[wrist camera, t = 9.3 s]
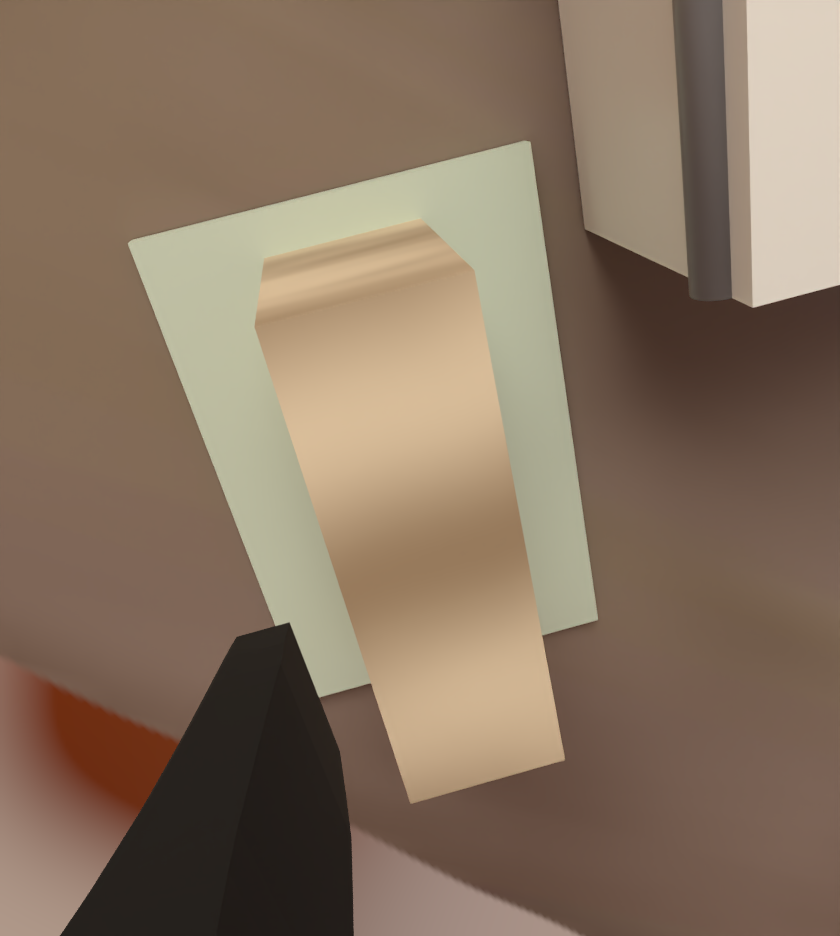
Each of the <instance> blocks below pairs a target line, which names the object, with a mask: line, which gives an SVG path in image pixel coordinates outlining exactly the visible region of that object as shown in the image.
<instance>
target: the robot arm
mask: <svg viewBox="0 0 840 936" xmlns="http://www.w3.org/2000/svg"><path fill="white" fill-rule="evenodd" d="M351 848H352V847H351V831H350V823H349V816H348V808H347V800H346V792H345V785H344V778H343V771H342V764H341V757H340V751H339V748H338V746H337V743H336V740H335V738H334V735H333V733H332V730H331V728H330V725H329V722H328V720H327V717H326V715H325V712H324V710H323V707H322V704H321V702H320V699H319V697H318V694H317V692H316V689H315V686H314V684H313V681H312V679H311V676H310V674H309V671H308V668H307V666H306V663H305V661H304V658H303V656H302V653H301V650H300V648H299V645H298V643H297V640H296V638H295V635H294V632H293V630H292V627H291V625H290V622H289V623H285V624H282V625H278V626H274V627H271V628H267V629H264V630H260V631H257V632H253V633H249V634H246V635H242V636H239V637H237V638H236V639H235V641H234V643H233V644H232V646H231V647H230V649H229V651H228V653H227V655H226V657H225V658H224V660H223V662H222V664H221V666H220V668H219V670H218V672H217V673H216V675H215V677H214V679H213V681H212V683H211V685H210V687H209V689H208V691H207V692H206V694H205V696H204V698H203V700H202V702H201V704H200V706H199V708H198V709H197V711H196V713H195V715H194V717H193V719H192V721H191V722H190V724H189V726H188V728H187V730H186V732H185V734H184V735H183V737H182V739H181V741H180V743H179V744H178V746H177V748H176V750H175V752H174V754H173V755H172V757H171V759H170V760H169V762H168V764H167V766H166V767H165V769H164V771H163V773H162V774H161V776H160V778H159V780H158V782H157V783H156V785H155V787H154V789H153V790H152V792H151V794H150V796H149V797H148V799H147V801H146V802H145V804H144V806H143V807H142V809H141V811H140V813H139V814H138V816H137V817H136V819H135V821H134V822H133V824H132V826H131V827H130V829H129V830H128V832H127V833H126V835H125V837H124V838H123V840H122V841H121V843H120V845H119V846H118V848H117V850H116V851H115V853H114V854H113V856H112V857H111V859H110V861H109V862H108V864H107V865H106V867H105V869H104V870H103V872H102V873H101V875H100V877H99V878H98V880H97V881H96V883H95V885H94V886H93V888H92V889H91V891H90V892H89V894H88V895H87V897H86V898H85V900H84V901H83V903H82V904H81V906H80V907H79V909H78V910H77V912H76V913H75V915H74V916H73V918H72V919H71V920H70V922H69V923H68V925H67V926H66V928H65V929H64V931H63V932H62V934H61V935H60V936H354V931H353V887H352V886H353V885H352V851H351V850H352V849H351Z"/></svg>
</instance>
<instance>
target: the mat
mask: <svg viewBox="0 0 840 936" xmlns="http://www.w3.org/2000/svg"><path fill="white" fill-rule="evenodd" d="M420 218H421V219H422V220H423V221H424V222H425V223H426V224H427V225H428V226H429V227H430V228H431V229H432V230H434V231H435V232H436V233H437V234H438V235H439V236H440V237H441V238H442V239H443V240H444V241H445V242H446V243H447V244H448V245H449V246H450V247H451V248H452V249H453V250H454V251H455V252H456V253H457V254H458V255H459V256H460V257H461V258H462V259H464V260H465V261H466V262H467V263H468V264H469V265H470V266H471V267H472V268H473V269H474V271H475V276H476V282H477V287H478V292H479V298H480V303H481V309H482V314H483V319H484V325H485V330H486V336H487V341H488V346H489V352H490V357H491V363H492V368H493V373H494V379H495V384H496V390H497V395H498V400H499V406H500V411H501V417H502V422H503V427H504V433H505V438H506V444H507V449H508V454H509V460H510V465H511V471H512V476H513V481H514V487H515V492H516V498H517V503H518V508H519V514H520V519H521V525H522V530H523V535H524V541H525V546H526V552H527V557H528V562H529V568H530V573H531V579H532V584H533V589H534V595H535V600H536V606H537V611H538V616H539V622H540V627H541V633H542V635H546V634H549V633H553V632H556V631H560V630H564V629H567V628H571V627H574V626H578V625H582V624H585V623H589V622H592V621H596V620H598V616H597V609H596V602H595V594H594V587H593V580H592V573H591V566H590V559H589V552H588V545H587V538H586V531H585V524H584V517H583V510H582V503H581V496H580V489H579V482H578V474H577V467H576V460H575V453H574V446H573V439H572V432H571V425H570V418H569V411H568V404H567V397H566V390H565V383H564V376H563V369H562V362H561V354H560V347H559V340H558V333H557V326H556V319H555V312H554V305H553V298H552V291H551V284H550V277H549V270H548V263H547V256H546V249H545V241H544V234H543V227H542V220H541V213H540V206H539V199H538V192H537V185H536V178H535V171H534V164H533V157H532V150H531V143H530V142H529V141H521V142H518V143H514V144H510V145H506V146H502V147H498V148H494V149H490V150H486V151H482V152H478V153H474V154H470V155H466V156H462V157H458V158H454V159H450V160H446V161H442V162H438V163H435V164H431V165H427V166H423V167H419V168H415V169H411V170H407V171H403V172H399V173H395V174H391V175H387V176H383V177H379V178H375V179H371V180H367V181H363V182H359V183H355V184H352V185H348V186H344V187H340V188H336V189H332V190H328V191H324V192H320V193H316V194H312V195H308V196H304V197H300V198H296V199H292V200H288V201H284V202H280V203H276V204H272V205H268V206H265V207H261V208H257V209H253V210H249V211H245V212H241V213H237V214H233V215H229V216H225V217H221V218H217V219H213V220H209V221H205V222H201V223H197V224H193V225H189V226H185V227H182V228H178V229H174V230H170V231H166V232H162V233H158V234H154V235H150V236H146V237H142V238H138V239H134V240H131V241H130V242H129V243H128V245H129V248H130V250H131V253H132V256H133V258H134V261H135V263H136V266H137V269H138V271H139V274H140V276H141V279H142V281H143V284H144V287H145V289H146V292H147V294H148V297H149V300H150V302H151V305H152V307H153V310H154V313H155V315H156V318H157V320H158V323H159V325H160V328H161V331H162V333H163V336H164V338H165V341H166V344H167V346H168V349H169V351H170V354H171V357H172V359H173V362H174V364H175V367H176V369H177V372H178V375H179V377H180V380H181V382H182V385H183V388H184V390H185V393H186V395H187V398H188V401H189V403H190V406H191V408H192V411H193V413H194V416H195V419H196V421H197V424H198V426H199V429H200V432H201V434H202V437H203V439H204V442H205V445H206V447H207V450H208V452H209V455H210V457H211V460H212V463H213V465H214V468H215V470H216V473H217V476H218V478H219V481H220V483H221V486H222V489H223V491H224V494H225V496H226V499H227V501H228V504H229V507H230V509H231V512H232V514H233V517H234V520H235V522H236V525H237V527H238V530H239V533H240V535H241V538H242V540H243V543H244V545H245V548H246V551H247V553H248V556H249V558H250V561H251V564H252V566H253V569H254V571H255V574H256V577H257V579H258V582H259V584H260V587H261V589H262V592H263V595H264V597H265V600H266V602H267V605H268V608H269V610H270V613H271V615H272V618H273V621H274V623H275V626H278V625H282V624H285V623H289V622H290V625H291V627H292V630H293V632H294V635H295V638H296V640H297V643H298V645H299V648H300V650H301V653H302V656H303V658H304V661H305V663H306V666H307V668H308V671H309V674H310V676H311V679H312V681H313V684H314V686H315V689H316V692H317V694H318V697H323V696H326V695H330V694H333V693H337V692H341V691H344V690H348V689H351V688H355V687H359V686H362V685H366V684H369V683H371V681H370V678H369V675H368V672H367V669H366V666H365V663H364V660H363V657H362V654H361V651H360V648H359V645H358V642H357V639H356V636H355V633H354V629H353V626H352V623H351V620H350V617H349V614H348V611H347V608H346V605H345V602H344V599H343V596H342V593H341V590H340V587H339V584H338V581H337V578H336V575H335V571H334V568H333V565H332V562H331V559H330V556H329V553H328V550H327V547H326V544H325V541H324V538H323V535H322V532H321V529H320V526H319V523H318V520H317V516H316V513H315V510H314V507H313V504H312V501H311V498H310V495H309V492H308V489H307V486H306V483H305V480H304V477H303V474H302V471H301V468H300V465H299V462H298V458H297V455H296V452H295V449H294V446H293V443H292V440H291V437H290V434H289V431H288V428H287V425H286V422H285V419H284V416H283V413H282V410H281V407H280V403H279V400H278V397H277V394H276V391H275V388H274V385H273V382H272V379H271V376H270V373H269V370H268V367H267V364H266V361H265V358H264V355H263V352H262V348H261V345H260V342H259V339H258V336H257V333H256V330H255V327H254V326H255V319H256V312H257V305H258V298H259V291H260V284H261V277H262V270H263V263H264V258H267V257H271V256H275V255H279V254H283V253H287V252H291V251H294V250H298V249H302V248H306V247H310V246H314V245H318V244H322V243H326V242H330V241H334V240H338V239H342V238H346V237H349V236H353V235H357V234H361V233H365V232H369V231H373V230H377V229H381V228H385V227H389V226H393V225H397V224H400V223H404V222H408V221H412V220H416V219H420Z"/></svg>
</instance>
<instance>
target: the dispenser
mask: <svg viewBox="0 0 840 936" xmlns="http://www.w3.org/2000/svg"><path fill="white" fill-rule="evenodd" d="M558 6H559V14H560V23H561V31H562V40H563V48H564V57H565V65H566V74H567V82H568V91H569V99H570V108H571V116H572V125H573V134H574V142H575V151H576V159H577V168H578V176H579V185H580V193H581V202H582V210H583V219H584V227H585V229H586V230H588V231H590V232H592V233H594V234H596V235H599V236H601V237H603V238H605V239H607V240H609V241H611V242H613V243H616V244H618V245H620V246H622V247H624V248H626V249H628V250H631V251H633V252H635V253H637V254H639V255H641V256H643V257H645V258H648V259H650V260H652V261H654V262H656V263H658V264H660V265H663V266H665V267H667V268H669V269H671V270H673V271H675V272H677V273H680V274H682V275H684V276H686V277H688V283H689V296H690V297H691V298H692V299H695V300H699V301H719V300H726V299H730V298H733V299H735V300H737V301H739V302H741V303H744V304H746V305H748V306H750V307H752V308H754V307H758V306H761V305H765V304H769V303H773V302H777V301H780V300H784V299H788V298H792V297H795V296H799V295H803V294H807V293H811V292H814V291H818V290H822V289H826V288H830V287H833V286H837V285H840V0H558Z"/></svg>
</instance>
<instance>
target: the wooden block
mask: <svg viewBox="0 0 840 936" xmlns="http://www.w3.org/2000/svg"><path fill="white" fill-rule="evenodd" d="M254 327H255V330H256V333H257V336H258V339H259V342H260V345H261V348H262V352H263V355H264V358H265V361H266V364H267V367H268V370H269V373H270V376H271V379H272V382H273V385H274V388H275V391H276V394H277V397H278V400H279V403H280V407H281V410H282V413H283V416H284V419H285V422H286V425H287V428H288V431H289V434H290V437H291V440H292V443H293V446H294V449H295V452H296V455H297V458H298V462H299V465H300V468H301V471H302V474H303V477H304V480H305V483H306V486H307V489H308V492H309V495H310V498H311V501H312V504H313V507H314V510H315V513H316V516H317V520H318V523H319V526H320V529H321V532H322V535H323V538H324V541H325V544H326V547H327V550H328V553H329V556H330V559H331V562H332V565H333V568H334V571H335V575H336V578H337V581H338V584H339V587H340V590H341V593H342V596H343V599H344V602H345V605H346V608H347V611H348V614H349V617H350V620H351V623H352V626H353V629H354V633H355V636H356V639H357V642H358V645H359V648H360V651H361V654H362V657H363V660H364V663H365V666H366V669H367V672H368V675H369V678H370V681H371V684H372V688H373V691H374V694H375V697H376V700H377V703H378V706H379V709H380V712H381V715H382V718H383V721H384V724H385V727H386V730H387V733H388V736H389V739H390V743H391V746H392V749H393V752H394V755H395V758H396V761H397V764H398V767H399V770H400V773H401V776H402V779H403V782H404V785H405V788H406V791H407V794H408V797H409V801H410V804H412V803H415V802H419V801H422V800H426V799H429V798H433V797H437V796H440V795H444V794H447V793H451V792H454V791H458V790H461V789H465V788H468V787H472V786H475V785H479V784H482V783H486V782H489V781H493V780H496V779H500V778H503V777H507V776H510V775H514V774H517V773H521V772H524V771H528V770H531V769H535V768H539V767H542V766H546V765H549V764H553V763H556V762H560V761H563V760H565V757H564V751H563V746H562V741H561V735H560V730H559V724H558V719H557V714H556V708H555V703H554V697H553V692H552V687H551V681H550V676H549V670H548V665H547V660H546V654H545V649H544V643H543V638H542V633H541V627H540V622H539V616H538V611H537V606H536V600H535V595H534V589H533V584H532V579H531V573H530V568H529V562H528V557H527V552H526V546H525V541H524V535H523V530H522V525H521V519H520V514H519V508H518V503H517V498H516V492H515V487H514V481H513V476H512V471H511V465H510V460H509V454H508V449H507V444H506V438H505V433H504V427H503V422H502V417H501V411H500V406H499V400H498V395H497V390H496V384H495V379H494V373H493V368H492V363H491V357H490V352H489V346H488V341H487V336H486V330H485V325H484V319H483V314H482V309H481V303H480V298H479V292H478V287H477V282H476V276H475V271H474V269H473V268H472V267H471V266H470V265H469V264H468V263H467V262H466V261H465V260H464V259H462V258H461V257H460V256H459V255H458V254H457V253H456V252H455V251H454V250H453V249H452V248H451V247H450V246H449V245H448V244H447V243H446V242H445V241H444V240H443V239H442V238H441V237H440V236H439V235H438V234H437V233H436V232H435V231H434V230H432V229H431V228H430V227H429V226H428V225H427V224H426V223H425V222H424V221H423V220H422V219H421V218H420V219H416V220H412V221H408V222H404V223H400V224H397V225H393V226H389V227H385V228H381V229H377V230H373V231H369V232H365V233H361V234H357V235H353V236H349V237H346V238H342V239H338V240H334V241H330V242H326V243H322V244H318V245H314V246H310V247H306V248H302V249H298V250H294V251H291V252H287V253H283V254H279V255H275V256H271V257H267V258H264V263H263V270H262V277H261V284H260V291H259V298H258V305H257V312H256V319H255V326H254Z"/></svg>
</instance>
